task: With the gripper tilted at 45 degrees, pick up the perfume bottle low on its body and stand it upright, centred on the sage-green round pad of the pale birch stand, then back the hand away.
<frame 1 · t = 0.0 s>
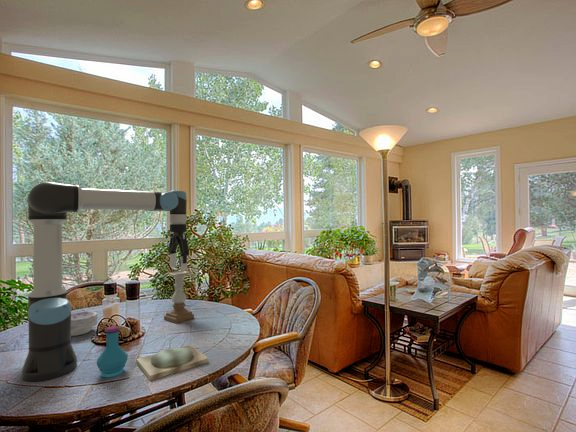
hand: (178, 268, 151), 28 cm above the table, tool pointing down, fingers open, 13 cm apart
paper bowls: (77, 333, 146), on the table
birch stand: (172, 362, 115), on the table
candle holder: (179, 319, 166), on the table
perfume bottle: (112, 372, 108), on the table
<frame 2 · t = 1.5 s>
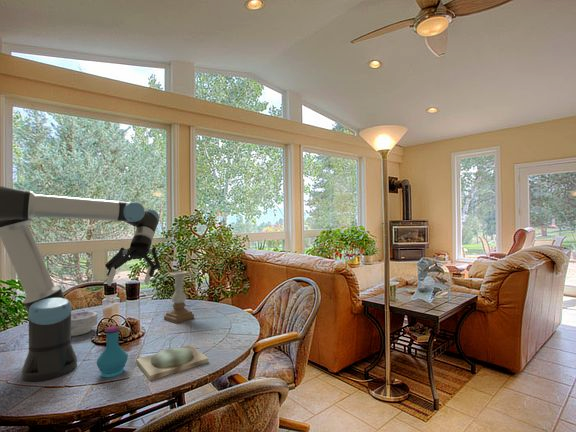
hand: (127, 283, 119), 28 cm above the table, tool tilted 45°, fingers open, 13 cm apart
nothing on the table moved.
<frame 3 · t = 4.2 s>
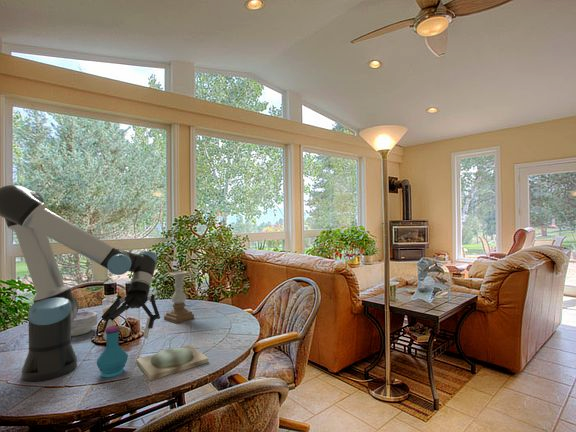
hand: (125, 337, 114), 9 cm above the table, tool tilted 45°, fingers open, 13 cm apart
nothing on the table moved.
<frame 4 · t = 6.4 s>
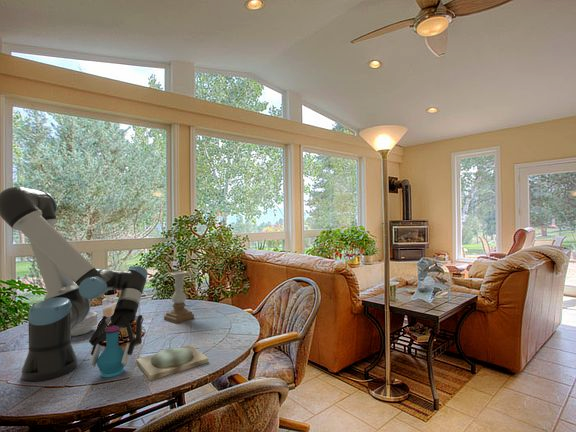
hand: (107, 365, 105), 4 cm above the table, tool tilted 45°, fingers closed on perfume bottle, 9 cm apart
perfume bottle: (112, 372, 108), on the table, touching gripper
everything else where it was.
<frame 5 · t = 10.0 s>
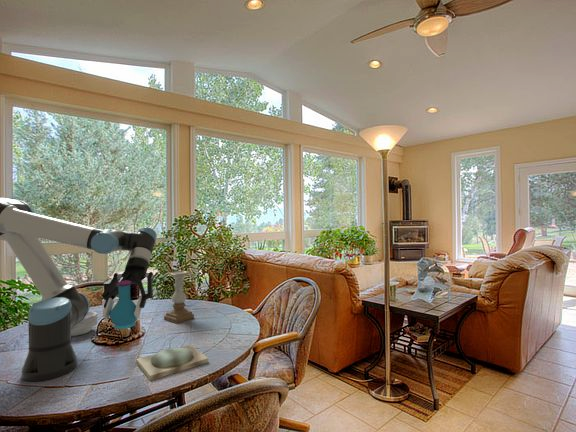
hand: (120, 316, 106), 19 cm above the table, tool tilted 45°, fingers closed on perfume bottle, 9 cm apart
perfume bottle: (125, 326, 109), point 15 cm above the table, touching gripper
everything else where it was.
when the fingers open (7 cm above the table, at t = 13.6 s): perfume bottle stays where it is, resting on birch stand.
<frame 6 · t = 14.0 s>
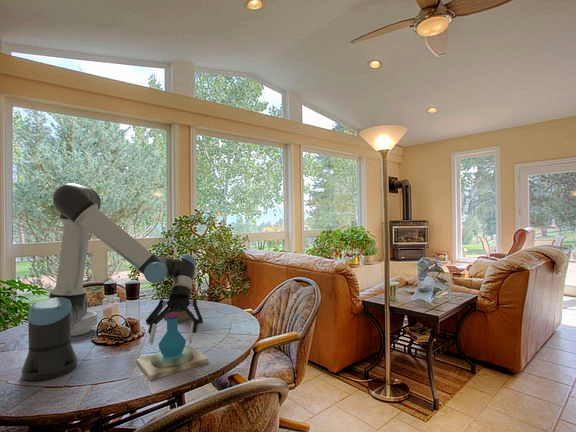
hand: (170, 342, 112), 8 cm above the table, tool tilted 45°, fingers open, 13 cm apart
perfume bottle: (172, 356, 115), point 2 cm above the table, touching birch stand
everything else where it was.
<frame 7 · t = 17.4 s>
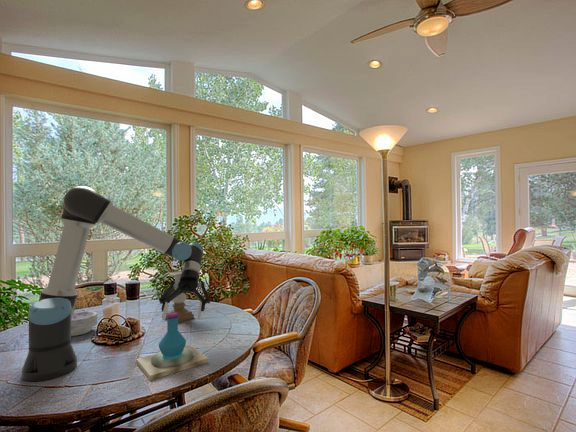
hand: (181, 318, 126), 12 cm above the table, tool tilted 45°, fingers open, 13 cm apart
nothing on the table moved.
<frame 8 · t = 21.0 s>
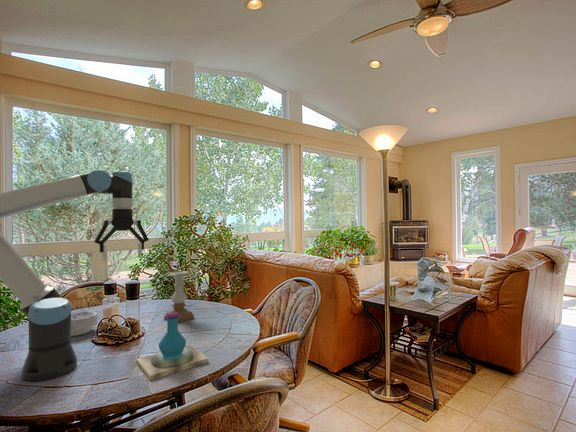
hand: (122, 259, 135), 35 cm above the table, tool pointing down, fingers open, 13 cm apart
nothing on the table moved.
at the end: perfume bottle inside the target area on the birch stand (0.0 cm from its centre), point 2.3 cm above the birch stand's base; perfume bottle tilted 1°; the gripper is holding nothing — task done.
